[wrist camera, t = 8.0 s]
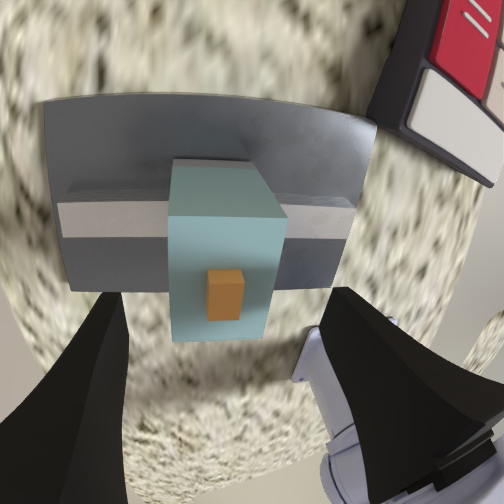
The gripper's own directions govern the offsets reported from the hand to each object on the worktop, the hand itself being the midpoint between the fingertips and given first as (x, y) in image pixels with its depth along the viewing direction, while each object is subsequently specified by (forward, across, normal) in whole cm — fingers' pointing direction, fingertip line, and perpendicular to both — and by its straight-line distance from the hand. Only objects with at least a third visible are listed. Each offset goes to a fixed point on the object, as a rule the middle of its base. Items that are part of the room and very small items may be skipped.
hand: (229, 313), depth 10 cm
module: (+8, 0, 0) cm, 8 cm away
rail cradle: (+9, 0, 0) cm, 9 cm away
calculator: (+10, -15, -12) cm, 22 cm away
